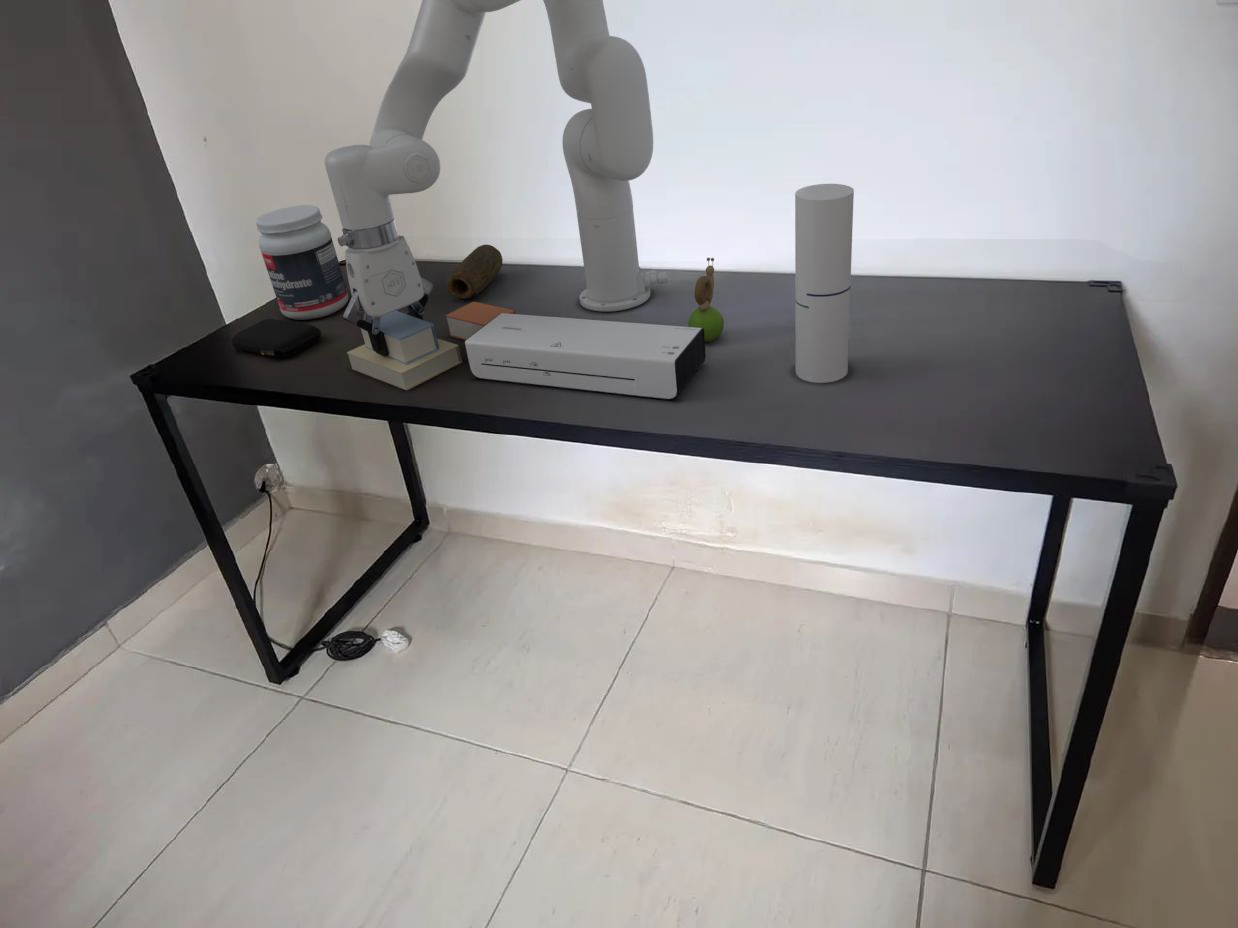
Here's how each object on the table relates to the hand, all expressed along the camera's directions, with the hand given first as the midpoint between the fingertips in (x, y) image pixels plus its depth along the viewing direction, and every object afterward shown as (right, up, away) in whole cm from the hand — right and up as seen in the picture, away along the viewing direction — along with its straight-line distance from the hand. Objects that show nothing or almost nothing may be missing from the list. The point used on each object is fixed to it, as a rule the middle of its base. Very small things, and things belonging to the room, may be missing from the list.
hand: (401, 345), depth 137 cm
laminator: (+30, -5, -7) cm, 31 cm away
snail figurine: (+48, +1, -2) cm, 48 cm away
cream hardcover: (0, -3, +2) cm, 4 cm away
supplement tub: (-23, +11, +29) cm, 39 cm away
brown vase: (+8, +15, +29) cm, 33 cm away
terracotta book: (+12, +3, +10) cm, 15 cm away
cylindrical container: (+63, -6, -15) cm, 65 cm away
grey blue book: (0, 0, 0) cm, 1 cm away
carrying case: (-26, +2, +15) cm, 30 cm away
